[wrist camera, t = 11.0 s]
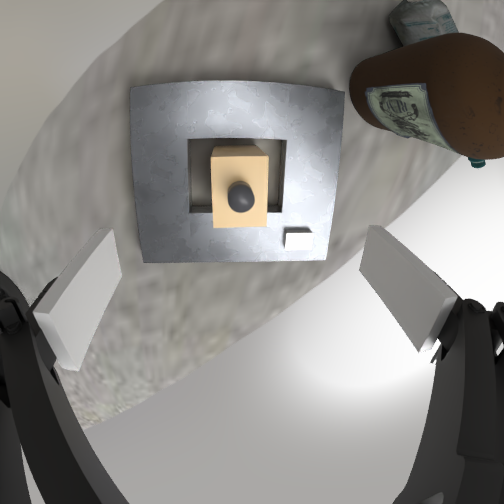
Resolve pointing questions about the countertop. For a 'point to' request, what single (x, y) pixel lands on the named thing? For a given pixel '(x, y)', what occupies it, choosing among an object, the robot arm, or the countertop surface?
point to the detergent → (424, 28)
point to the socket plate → (234, 126)
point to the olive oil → (437, 93)
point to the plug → (239, 186)
